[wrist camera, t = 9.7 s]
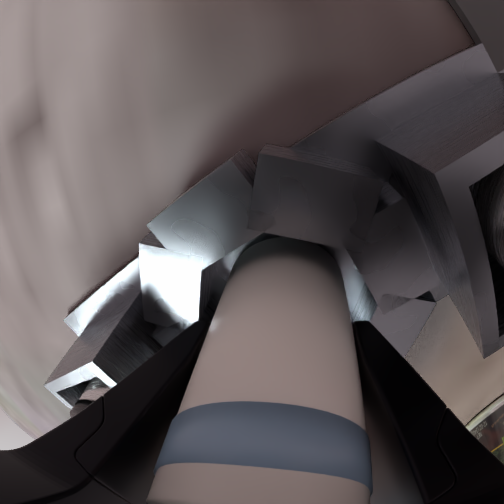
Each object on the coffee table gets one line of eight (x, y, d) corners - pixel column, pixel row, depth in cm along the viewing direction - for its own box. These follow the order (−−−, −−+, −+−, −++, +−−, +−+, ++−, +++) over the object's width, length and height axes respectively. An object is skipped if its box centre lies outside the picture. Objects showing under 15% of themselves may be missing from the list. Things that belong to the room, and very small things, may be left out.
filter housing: (551, 229, 7) (612, 285, 4) (169, 408, 15) (146, 468, 11) (482, 17, 5) (566, -3, 1) (58, 305, 13) (10, 360, 9)
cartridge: (348, 234, 8) (407, 500, 2) (340, 332, 10) (349, 538, 4) (219, 237, 9) (101, 471, 3) (235, 332, 10) (181, 525, 4)
